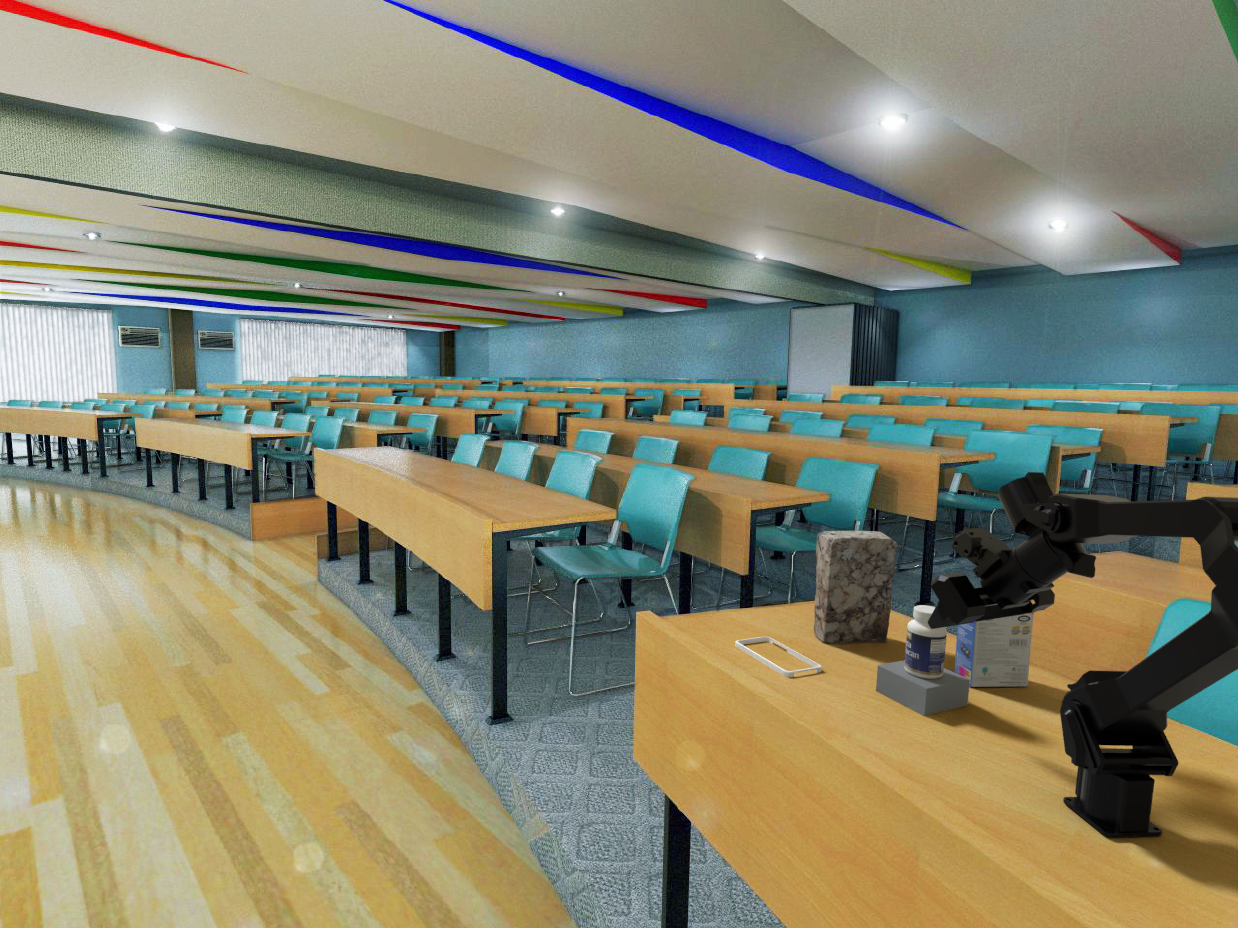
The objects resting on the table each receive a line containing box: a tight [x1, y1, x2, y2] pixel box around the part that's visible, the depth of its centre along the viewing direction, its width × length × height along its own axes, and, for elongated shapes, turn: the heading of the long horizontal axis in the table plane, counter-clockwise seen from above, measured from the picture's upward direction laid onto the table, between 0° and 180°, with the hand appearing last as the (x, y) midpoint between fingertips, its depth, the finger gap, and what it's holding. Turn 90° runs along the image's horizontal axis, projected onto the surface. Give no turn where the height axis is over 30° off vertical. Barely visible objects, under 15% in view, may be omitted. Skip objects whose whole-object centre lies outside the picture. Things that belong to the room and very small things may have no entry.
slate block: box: [875, 659, 970, 717], centre depth 105 cm, size 9×9×4 cm
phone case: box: [734, 636, 823, 678], centre depth 119 cm, size 7×1×15 cm
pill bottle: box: [904, 604, 948, 679], centre depth 104 cm, size 5×5×10 cm
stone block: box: [813, 530, 898, 645], centre depth 128 cm, size 13×7×20 cm, turn 103°
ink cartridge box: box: [954, 612, 1035, 688], centre depth 111 cm, size 10×6×14 cm, turn 96°
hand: (952, 621), depth 99 cm, fingers open, 9 cm apart
